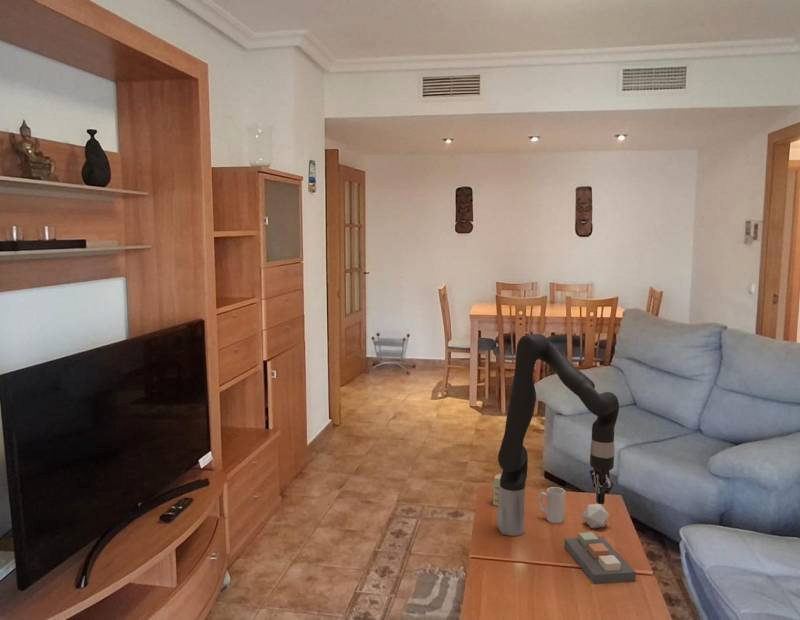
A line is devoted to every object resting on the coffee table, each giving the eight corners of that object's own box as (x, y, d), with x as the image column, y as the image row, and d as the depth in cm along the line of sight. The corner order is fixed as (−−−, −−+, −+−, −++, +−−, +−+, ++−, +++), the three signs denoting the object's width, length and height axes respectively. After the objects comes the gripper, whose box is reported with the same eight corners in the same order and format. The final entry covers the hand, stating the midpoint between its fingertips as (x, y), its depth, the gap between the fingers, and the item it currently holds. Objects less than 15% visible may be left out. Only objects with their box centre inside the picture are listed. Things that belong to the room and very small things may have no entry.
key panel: (593, 583, 192) (593, 574, 192) (564, 546, 216) (564, 538, 215) (635, 580, 194) (636, 571, 193) (601, 544, 217) (602, 536, 217)
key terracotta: (594, 562, 202) (594, 551, 201) (587, 555, 207) (588, 544, 206) (608, 561, 202) (609, 550, 202) (601, 554, 207) (602, 543, 207)
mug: (563, 516, 239) (564, 487, 238) (565, 524, 233) (566, 494, 232) (537, 515, 241) (537, 485, 240) (538, 522, 234) (538, 492, 233)
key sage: (584, 550, 210) (584, 539, 209) (578, 543, 215) (578, 533, 214) (598, 550, 210) (598, 539, 210) (591, 543, 215) (592, 532, 215)
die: (607, 535, 226) (616, 509, 229) (586, 523, 226) (595, 498, 229) (595, 533, 234) (605, 508, 237) (575, 521, 234) (585, 497, 237)
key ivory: (605, 575, 194) (605, 563, 194) (598, 567, 199) (598, 555, 198) (620, 574, 195) (620, 562, 194) (612, 566, 200) (613, 555, 199)
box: (521, 504, 251) (522, 477, 249) (517, 510, 245) (518, 482, 244) (496, 500, 255) (497, 473, 254) (492, 505, 250) (493, 477, 248)
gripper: (582, 446, 207) (581, 495, 209) (600, 460, 194) (598, 512, 196) (603, 445, 208) (602, 494, 210) (622, 459, 195) (620, 511, 197)
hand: (600, 503), depth 203 cm, fingers closed
